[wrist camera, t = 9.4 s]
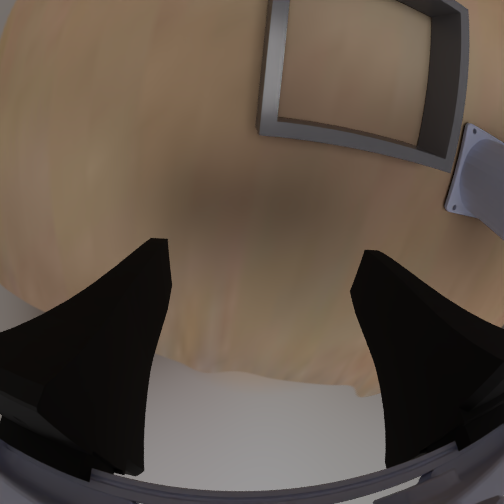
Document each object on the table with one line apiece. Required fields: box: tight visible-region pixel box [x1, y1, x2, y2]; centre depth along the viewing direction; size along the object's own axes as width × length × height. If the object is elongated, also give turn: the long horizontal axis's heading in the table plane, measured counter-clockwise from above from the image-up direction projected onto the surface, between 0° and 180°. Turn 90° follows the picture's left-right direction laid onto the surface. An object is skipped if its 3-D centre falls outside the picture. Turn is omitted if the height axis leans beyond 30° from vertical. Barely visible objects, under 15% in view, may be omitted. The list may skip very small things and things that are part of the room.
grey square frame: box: [256, 0, 469, 173], centre depth 11 cm, size 13×13×4 cm
